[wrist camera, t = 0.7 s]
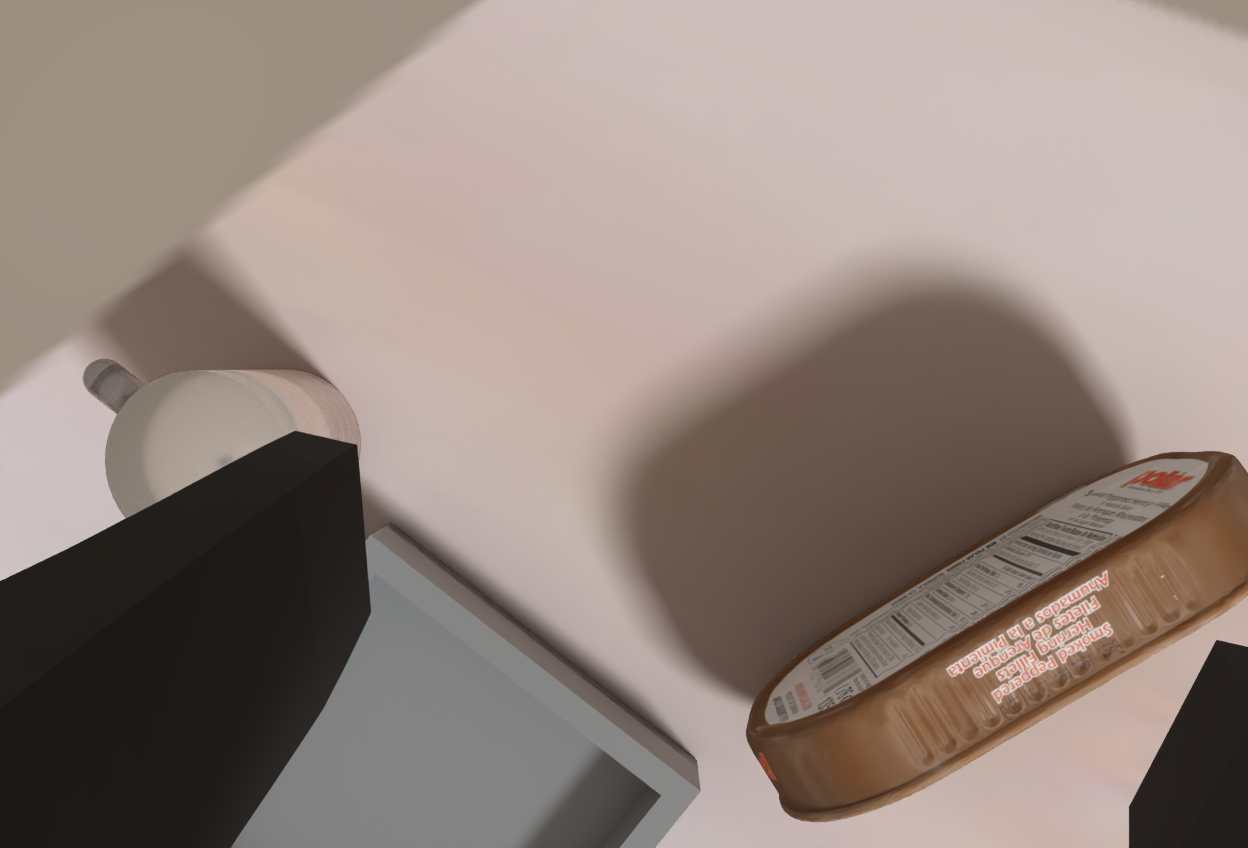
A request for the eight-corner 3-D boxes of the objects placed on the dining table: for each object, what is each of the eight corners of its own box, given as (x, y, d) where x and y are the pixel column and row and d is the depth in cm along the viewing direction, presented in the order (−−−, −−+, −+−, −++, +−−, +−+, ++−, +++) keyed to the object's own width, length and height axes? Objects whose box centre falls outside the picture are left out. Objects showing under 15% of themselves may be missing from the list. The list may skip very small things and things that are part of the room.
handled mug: (302, 544, 34) (214, 589, 27) (147, 424, 34) (18, 439, 27) (390, 430, 34) (323, 446, 27) (234, 308, 34) (127, 293, 27)
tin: (771, 761, 34) (810, 888, 26) (718, 676, 34) (740, 775, 26) (1195, 509, 34) (1376, 556, 25) (1143, 421, 34) (1306, 438, 25)
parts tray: (461, 1052, 35) (447, 1105, 33) (159, 820, 35) (122, 855, 32) (696, 760, 34) (700, 791, 32) (390, 522, 34) (370, 534, 32)
